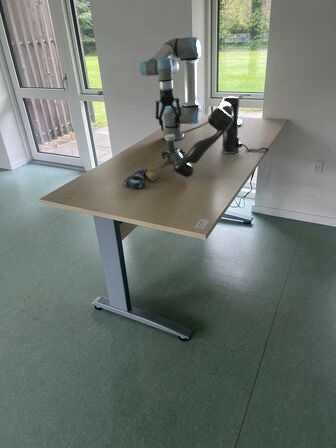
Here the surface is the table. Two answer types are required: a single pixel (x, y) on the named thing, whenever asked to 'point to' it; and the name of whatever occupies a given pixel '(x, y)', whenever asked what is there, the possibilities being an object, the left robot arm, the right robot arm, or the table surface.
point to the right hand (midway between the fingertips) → (170, 150)
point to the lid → (169, 137)
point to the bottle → (170, 146)
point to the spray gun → (139, 178)
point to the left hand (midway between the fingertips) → (169, 129)
